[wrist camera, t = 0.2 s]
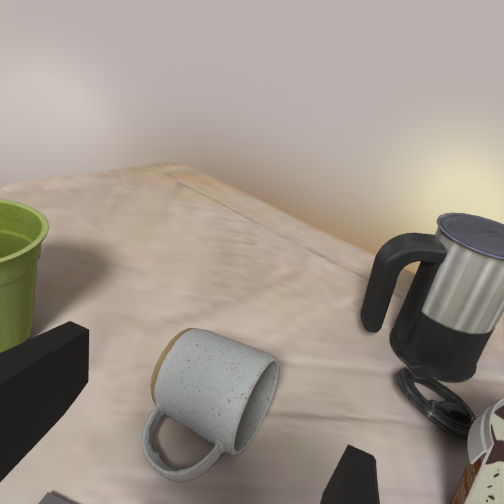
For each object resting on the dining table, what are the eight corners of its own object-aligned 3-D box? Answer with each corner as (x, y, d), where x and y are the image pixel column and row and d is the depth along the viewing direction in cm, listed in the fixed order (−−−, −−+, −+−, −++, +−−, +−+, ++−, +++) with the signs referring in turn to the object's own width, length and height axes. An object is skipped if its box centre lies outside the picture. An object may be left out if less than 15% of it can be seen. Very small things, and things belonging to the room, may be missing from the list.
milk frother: (438, 321, 55) (488, 210, 47) (548, 430, 42) (639, 301, 35) (335, 333, 50) (373, 211, 42) (424, 459, 37) (500, 316, 30)
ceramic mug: (193, 368, 42) (199, 302, 38) (272, 407, 39) (288, 341, 35) (114, 455, 33) (112, 381, 29) (208, 513, 31) (220, 441, 27)
